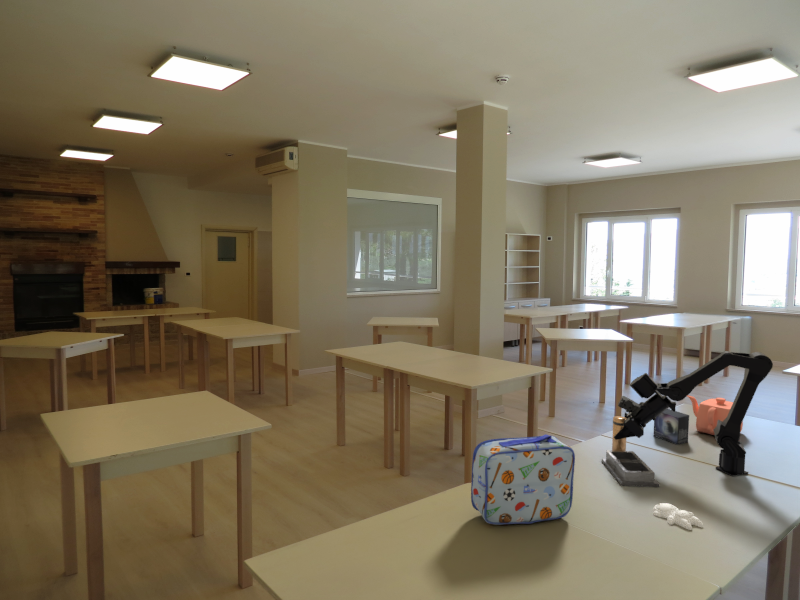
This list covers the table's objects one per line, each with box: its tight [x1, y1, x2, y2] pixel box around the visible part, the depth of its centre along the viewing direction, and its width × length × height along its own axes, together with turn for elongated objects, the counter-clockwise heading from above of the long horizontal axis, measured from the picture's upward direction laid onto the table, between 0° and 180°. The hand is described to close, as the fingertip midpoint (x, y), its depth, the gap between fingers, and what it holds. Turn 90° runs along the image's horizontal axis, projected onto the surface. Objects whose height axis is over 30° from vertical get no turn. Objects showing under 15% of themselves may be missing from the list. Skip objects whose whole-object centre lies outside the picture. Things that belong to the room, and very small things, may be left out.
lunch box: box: [470, 434, 576, 525], centre depth 136 cm, size 28×10×22 cm, turn 105°
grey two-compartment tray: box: [601, 450, 660, 488], centre depth 165 cm, size 19×11×4 cm, turn 176°
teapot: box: [686, 394, 744, 436], centre depth 206 cm, size 20×19×14 cm
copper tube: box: [611, 415, 627, 451], centre depth 180 cm, size 5×5×13 cm
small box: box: [652, 408, 690, 445], centre depth 196 cm, size 11×6×10 cm, turn 25°
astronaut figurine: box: [652, 502, 704, 531], centre depth 136 cm, size 9×12×3 cm
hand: (615, 435), depth 180 cm, fingers open, 6 cm apart
